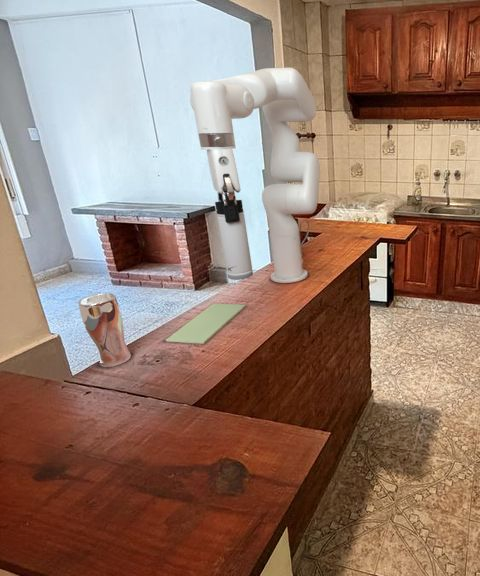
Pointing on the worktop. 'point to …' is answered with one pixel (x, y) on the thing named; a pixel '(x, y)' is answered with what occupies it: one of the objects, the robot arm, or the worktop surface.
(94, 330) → the beer glass
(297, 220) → the glass holder
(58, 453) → the worktop surface
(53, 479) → the worktop surface
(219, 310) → the sage mat
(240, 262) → the travel mug
